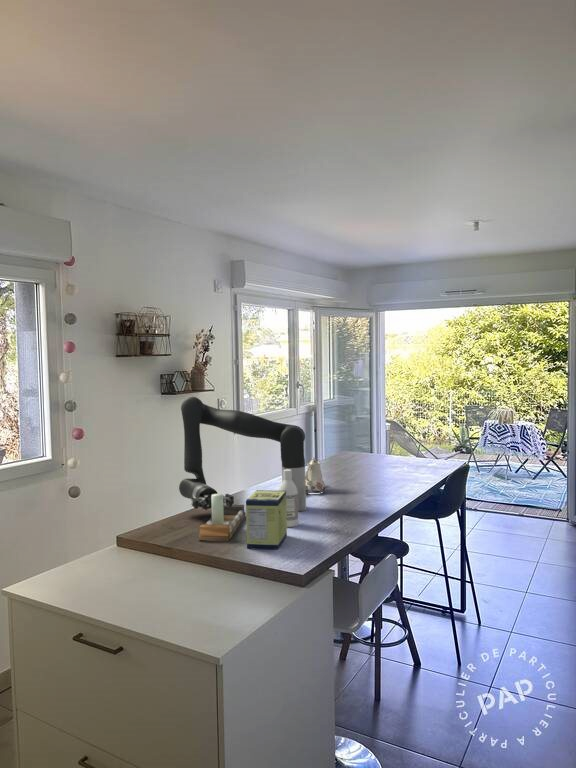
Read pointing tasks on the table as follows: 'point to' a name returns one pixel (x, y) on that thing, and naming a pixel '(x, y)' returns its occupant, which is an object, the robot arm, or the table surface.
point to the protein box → (266, 519)
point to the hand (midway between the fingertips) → (218, 505)
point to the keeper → (217, 510)
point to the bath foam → (290, 498)
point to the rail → (223, 538)
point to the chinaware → (314, 477)
